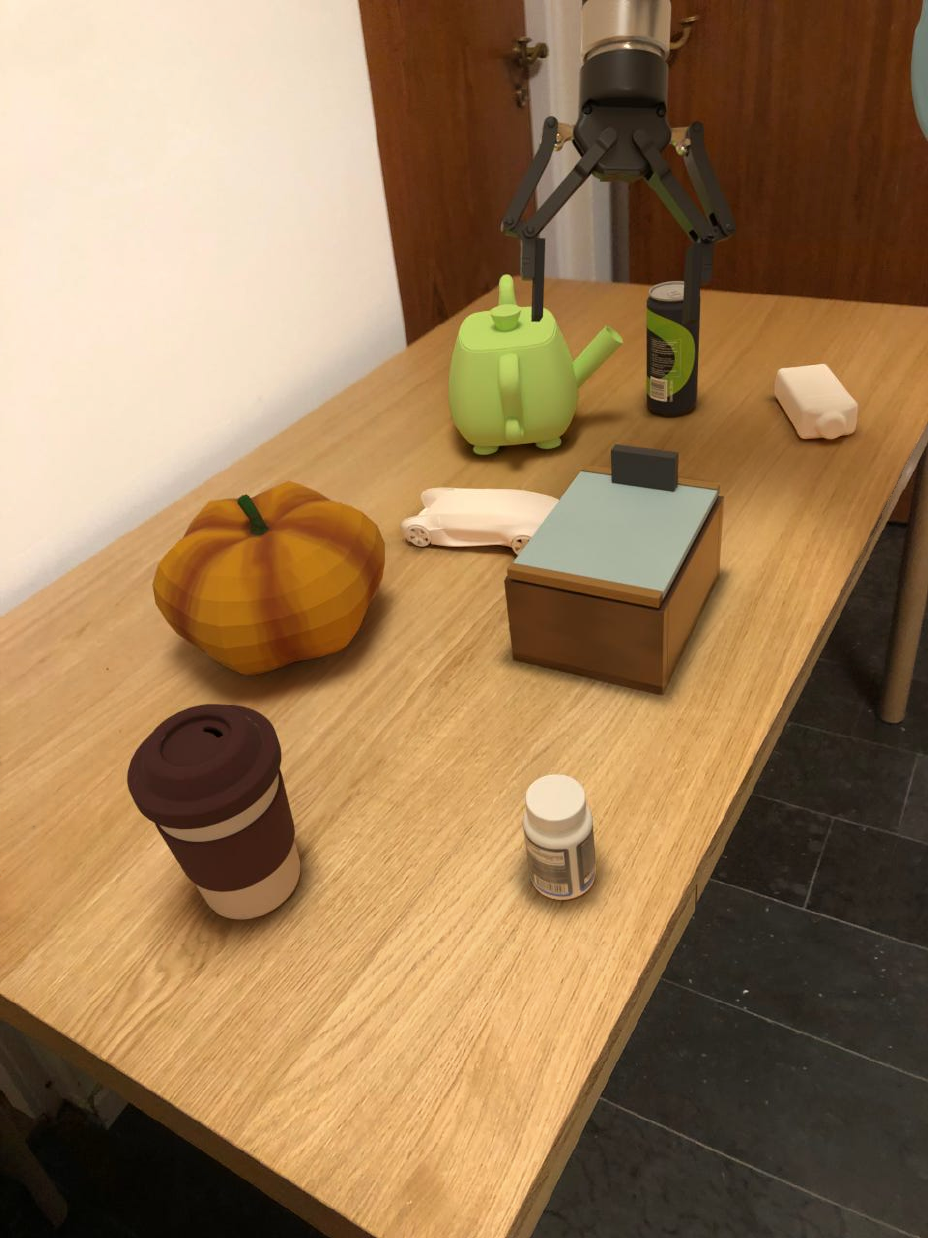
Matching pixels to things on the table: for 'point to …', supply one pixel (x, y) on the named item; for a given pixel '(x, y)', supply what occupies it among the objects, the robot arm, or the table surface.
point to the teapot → (518, 375)
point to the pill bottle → (559, 837)
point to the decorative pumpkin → (271, 578)
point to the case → (616, 621)
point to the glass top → (619, 529)
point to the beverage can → (670, 352)
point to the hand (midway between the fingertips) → (613, 321)
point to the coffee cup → (221, 805)
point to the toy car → (478, 517)
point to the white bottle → (816, 402)
